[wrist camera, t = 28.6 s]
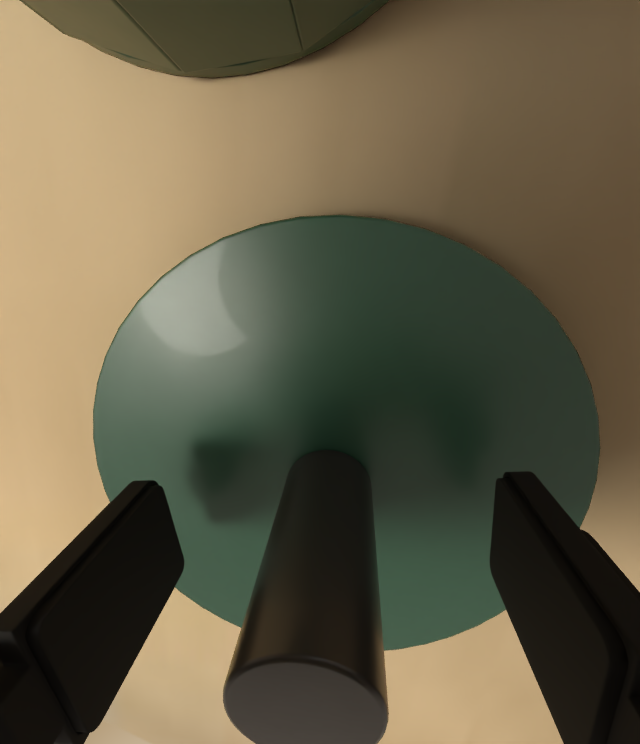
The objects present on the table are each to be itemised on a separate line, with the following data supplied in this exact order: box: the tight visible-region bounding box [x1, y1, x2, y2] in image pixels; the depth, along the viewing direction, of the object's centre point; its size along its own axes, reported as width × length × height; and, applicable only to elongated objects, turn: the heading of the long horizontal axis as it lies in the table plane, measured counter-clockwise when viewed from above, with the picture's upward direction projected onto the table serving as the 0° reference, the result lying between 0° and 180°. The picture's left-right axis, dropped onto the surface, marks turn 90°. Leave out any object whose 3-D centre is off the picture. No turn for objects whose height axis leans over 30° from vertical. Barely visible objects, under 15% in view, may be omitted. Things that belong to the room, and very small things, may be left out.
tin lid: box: [93, 215, 600, 744], centre depth 8 cm, size 15×15×7 cm
